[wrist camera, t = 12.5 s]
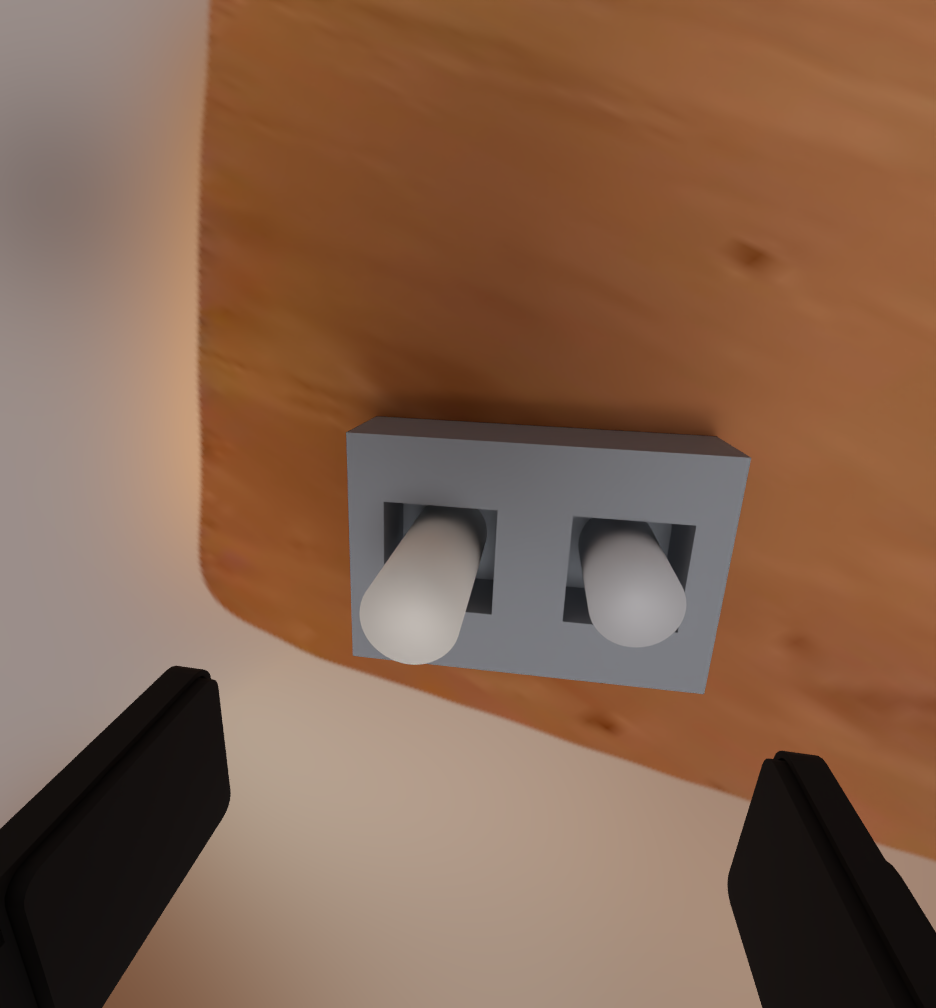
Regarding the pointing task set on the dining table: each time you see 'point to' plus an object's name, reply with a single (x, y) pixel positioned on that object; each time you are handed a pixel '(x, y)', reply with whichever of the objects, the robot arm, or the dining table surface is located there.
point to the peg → (425, 586)
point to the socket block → (561, 542)
